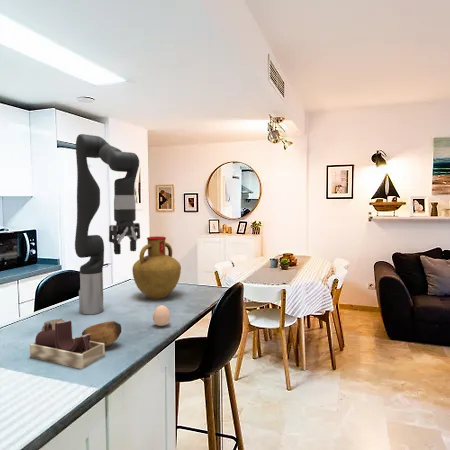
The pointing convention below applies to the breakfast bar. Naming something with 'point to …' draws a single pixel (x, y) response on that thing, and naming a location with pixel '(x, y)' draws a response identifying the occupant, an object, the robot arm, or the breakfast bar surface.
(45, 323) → the rock
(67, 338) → the bracket
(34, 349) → the wooden tray
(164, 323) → the egg
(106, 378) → the breakfast bar surface
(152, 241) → the vase
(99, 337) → the potato
